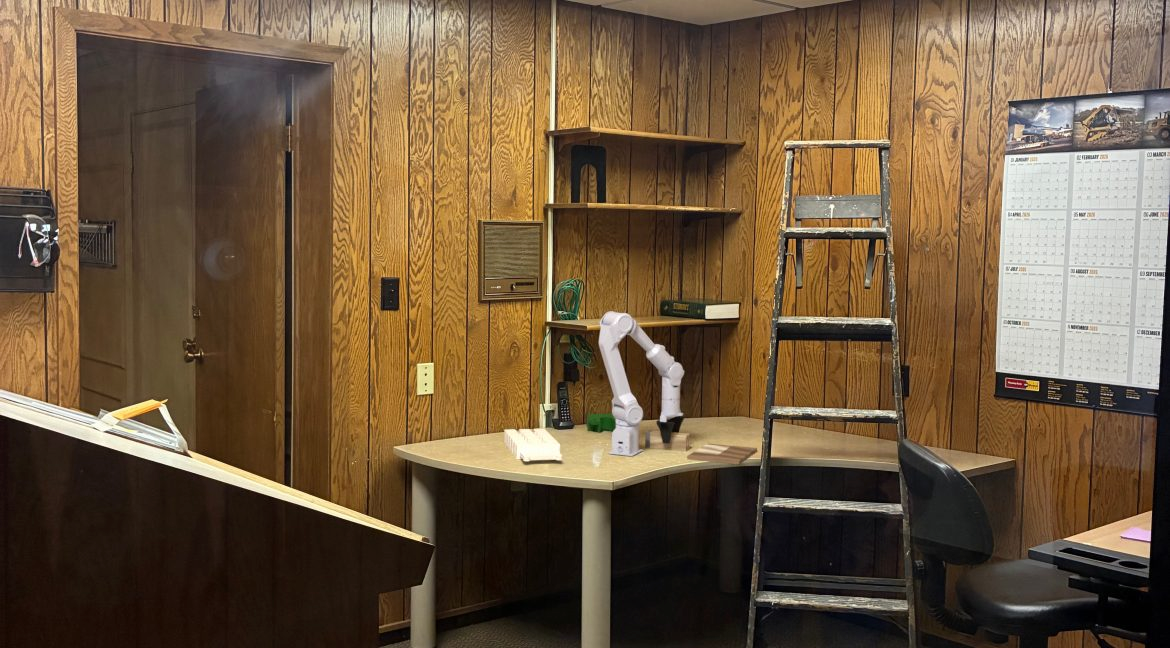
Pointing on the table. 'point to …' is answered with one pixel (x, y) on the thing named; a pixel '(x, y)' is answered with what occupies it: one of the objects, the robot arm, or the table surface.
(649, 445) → the tan wooden bar
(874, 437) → the table surface
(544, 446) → the organizer
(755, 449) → the board
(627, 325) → the robot arm
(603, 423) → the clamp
